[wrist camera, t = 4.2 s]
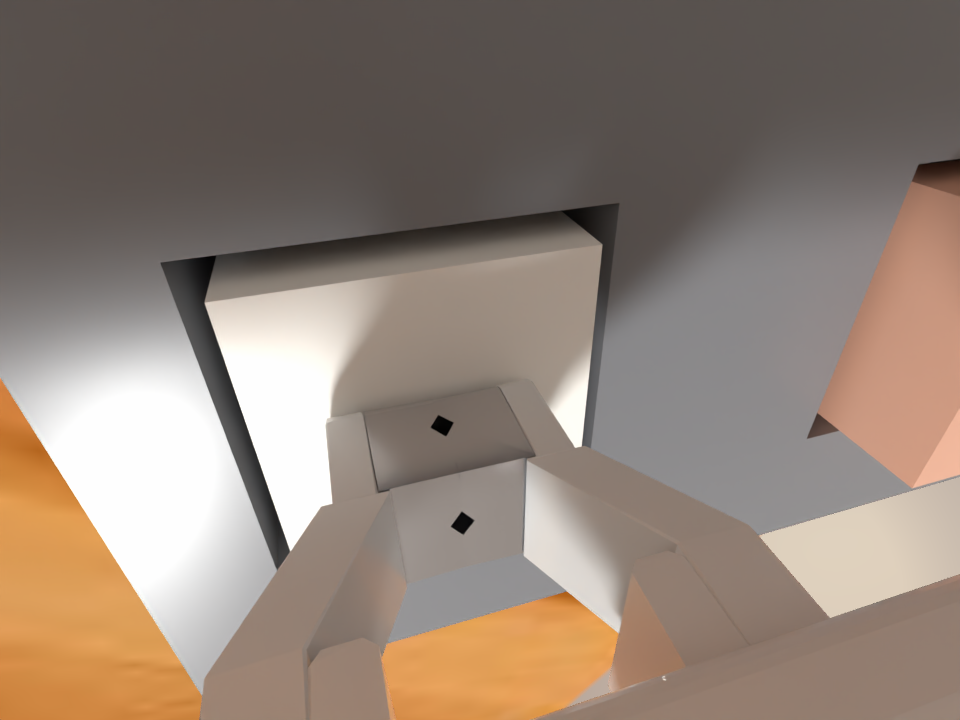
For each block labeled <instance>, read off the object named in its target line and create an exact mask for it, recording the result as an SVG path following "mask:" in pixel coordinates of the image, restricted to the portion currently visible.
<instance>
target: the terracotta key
mask: <svg viewBox="0 0 960 720" xmlns="http://www.w3.org/2000/svg"><path fill="white" fill-rule="evenodd" d="M817 413H818V414H819V415H821V416H822V417H823V418H824V419H826V420H827V421H828V422H829V423H831V424H832V425H833V426H834V427H836V428H837V429H838V430H839V431H841V432H842V433H843V434H844V435H846V436H847V437H848V438H849V439H851V440H852V441H853V442H854V443H856V444H857V445H858V446H859V447H861V448H862V449H863V450H864V451H866V452H867V453H868V454H869V455H871V456H872V457H873V458H875V459H876V460H877V461H878V462H880V463H881V464H882V465H883V466H885V467H886V468H887V469H888V470H890V471H891V472H892V473H893V474H895V475H896V476H897V477H898V478H900V479H901V480H902V481H903V482H905V483H906V484H907V485H908V486H910V487H911V488H916V487H919V486H923V485H926V484H929V483H933V482H936V481H940V480H943V479H947V478H950V477H954V476H957V475H960V160H953V161H945V162H938V163H930V164H922V165H918V167H917V170H916V172H915V175H914V177H913V179H912V182H911V184H910V187H909V189H908V192H907V194H906V197H905V199H904V201H903V204H902V206H901V209H900V211H899V214H898V216H897V219H896V221H895V223H894V226H893V228H892V231H891V233H890V236H889V238H888V241H887V243H886V246H885V248H884V250H883V253H882V255H881V258H880V260H879V263H878V265H877V268H876V270H875V272H874V275H873V277H872V280H871V282H870V285H869V287H868V290H867V292H866V295H865V297H864V299H863V302H862V304H861V307H860V309H859V312H858V314H857V317H856V319H855V321H854V324H853V326H852V329H851V331H850V334H849V336H848V339H847V341H846V344H845V346H844V348H843V351H842V353H841V356H840V358H839V361H838V363H837V366H836V368H835V370H834V373H833V375H832V378H831V380H830V383H829V385H828V388H827V390H826V393H825V395H824V397H823V400H822V402H821V405H820V407H819V410H818V412H817Z"/></svg>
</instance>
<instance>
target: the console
mask: <svg viewBox="0 0 960 720" xmlns="http://www.w3.org/2000/svg"><path fill="white" fill-rule="evenodd" d="M953 160H960V0H0V378H1V380H2V381H3V383H4V384H5V386H6V387H7V389H8V391H9V392H10V394H11V395H12V397H13V398H14V400H15V402H16V403H17V405H18V406H19V408H20V410H21V411H22V413H23V414H24V416H25V417H26V419H27V421H28V422H29V424H30V425H31V427H32V428H33V430H34V432H35V433H36V435H37V436H38V438H39V439H40V441H41V443H42V444H43V446H44V447H45V449H46V451H47V452H48V454H49V455H50V457H51V458H52V460H53V462H54V463H55V465H56V466H57V468H58V469H59V471H60V473H61V474H62V476H63V477H64V479H65V480H66V482H67V484H68V485H69V487H70V488H71V490H72V491H73V493H74V495H75V496H76V498H77V499H78V501H79V503H80V504H81V506H82V507H83V509H84V510H85V512H86V514H87V515H88V517H89V518H90V520H91V521H92V523H93V525H94V526H95V528H96V529H97V531H98V532H99V534H100V536H101V537H102V539H103V540H104V542H105V544H106V545H107V547H108V548H109V550H110V551H111V553H112V555H113V556H114V558H115V559H116V561H117V562H118V564H119V566H120V567H121V569H122V570H123V572H124V573H125V575H126V577H127V578H128V580H129V581H130V583H131V584H132V586H133V588H134V589H135V591H136V592H137V594H138V596H139V597H140V599H141V600H142V602H143V603H144V605H145V607H146V608H147V610H148V611H149V613H150V614H151V616H152V618H153V619H154V621H155V622H156V624H157V625H158V627H159V629H160V630H161V632H162V633H163V635H164V637H165V638H166V640H167V641H168V643H169V644H170V646H171V648H172V649H173V651H174V652H175V654H176V655H177V657H178V659H179V660H180V662H181V663H182V665H183V666H184V668H185V670H186V671H187V673H188V674H189V676H190V678H191V679H192V681H193V682H194V684H195V685H196V687H197V689H198V690H199V692H200V693H201V695H203V686H204V678H205V677H206V675H207V674H208V672H209V671H210V669H211V668H212V667H213V665H214V664H215V662H216V661H217V659H218V658H219V656H220V655H221V653H222V652H223V650H224V649H225V647H226V646H227V644H228V643H229V641H230V640H231V638H232V637H233V636H234V634H235V633H236V631H237V630H238V628H239V627H240V625H241V624H242V622H243V621H244V619H245V618H246V616H247V615H248V613H249V612H250V610H251V609H252V607H253V606H254V604H255V603H256V602H257V600H258V599H259V597H260V596H261V594H262V593H263V591H264V590H265V588H266V587H267V585H268V584H269V582H270V581H271V579H272V578H273V576H274V575H275V573H276V572H277V571H278V569H279V568H280V566H281V565H282V563H283V562H284V560H285V559H286V557H287V556H288V554H289V553H290V549H289V546H288V543H287V540H286V537H285V534H284V532H283V529H282V526H281V523H280V520H279V517H278V514H277V511H276V508H275V506H274V503H273V500H272V497H271V494H270V491H269V488H268V485H267V482H266V480H265V477H264V474H263V471H262V468H261V465H260V462H259V459H258V456H257V454H256V451H255V448H254V445H253V442H252V439H251V436H250V433H249V430H248V428H247V425H246V422H245V419H244V416H243V413H242V410H241V407H240V404H239V402H238V399H237V396H236V393H235V390H234V387H233V384H232V381H231V378H230V375H229V373H228V370H227V367H226V364H225V361H224V358H223V355H222V352H221V349H220V347H219V344H218V341H217V338H216V335H215V332H214V329H213V326H212V323H211V321H210V318H209V315H208V312H207V309H206V306H205V303H204V302H205V298H206V294H207V290H208V286H209V283H210V279H211V275H212V271H213V267H214V263H215V259H216V255H222V254H230V253H237V252H245V251H253V250H260V249H268V248H276V247H284V246H291V245H299V244H307V243H314V242H322V241H330V240H338V239H345V238H353V237H361V236H368V235H376V234H384V233H391V232H399V231H407V230H415V229H422V228H430V227H438V226H445V225H453V224H461V223H468V222H476V221H484V220H492V219H499V218H507V217H515V216H522V215H530V214H538V213H545V212H553V211H562V212H563V213H564V214H566V215H567V216H568V217H569V218H571V219H572V220H573V221H574V222H575V223H577V224H578V225H579V226H580V227H582V228H583V229H584V230H585V231H587V232H588V233H589V234H590V235H592V236H593V237H594V238H595V239H597V240H598V241H599V242H600V243H601V244H603V245H602V254H601V264H600V274H599V283H598V293H597V303H596V312H595V322H594V332H593V341H592V351H591V360H590V370H589V380H588V389H587V399H586V409H585V418H584V428H583V438H582V446H587V447H589V448H591V449H593V450H595V451H597V452H599V453H601V454H603V455H605V456H607V457H609V458H611V459H613V460H616V461H618V462H620V463H622V464H624V465H626V466H628V467H630V468H632V469H634V470H636V471H638V472H640V473H642V474H644V475H647V476H649V477H651V478H653V479H655V480H657V481H659V482H661V483H663V484H665V485H667V486H669V487H671V488H673V489H675V490H678V491H680V492H682V493H684V494H686V495H688V496H690V497H692V498H694V499H696V500H698V501H700V502H702V503H704V504H706V505H709V506H711V507H713V508H715V509H717V510H719V511H721V512H723V513H725V514H727V515H729V516H731V517H733V518H735V519H737V520H740V521H742V522H744V523H746V524H748V525H750V527H751V528H752V529H753V530H754V531H755V532H756V534H757V535H762V534H765V533H768V532H772V531H775V530H778V529H782V528H785V527H789V526H792V525H796V524H799V523H803V522H806V521H810V520H813V519H816V518H820V517H823V516H827V515H830V514H834V513H837V512H840V511H844V510H847V509H851V508H854V507H858V506H861V505H865V504H868V503H871V502H875V501H878V500H882V499H885V498H889V497H892V496H895V495H899V494H902V493H906V492H909V491H912V490H916V489H919V488H923V487H926V486H930V485H933V484H936V483H940V482H944V481H947V480H950V479H954V478H957V477H960V475H957V476H954V477H950V478H947V479H943V480H940V481H936V482H933V483H929V484H926V485H923V486H919V487H916V488H911V487H910V486H908V485H907V484H906V483H905V482H903V481H902V480H901V479H900V478H898V477H897V476H896V475H895V474H893V473H892V472H891V471H890V470H888V469H887V468H886V467H885V466H883V465H882V464H881V463H880V462H878V461H877V460H876V459H875V458H873V457H872V456H871V455H869V454H868V453H867V452H866V451H864V450H863V449H862V448H861V447H859V446H858V445H857V444H856V443H854V442H853V441H852V440H851V439H849V438H848V437H847V436H846V435H844V434H843V433H842V432H841V431H839V430H838V429H837V428H836V427H834V426H833V425H832V424H831V423H829V422H828V421H827V420H826V419H824V418H823V417H822V416H821V415H819V414H818V413H817V412H818V410H819V407H820V405H821V402H822V400H823V397H824V395H825V393H826V390H827V388H828V385H829V383H830V380H831V378H832V375H833V373H834V370H835V368H836V366H837V363H838V361H839V358H840V356H841V353H842V351H843V348H844V346H845V344H846V341H847V339H848V336H849V334H850V331H851V329H852V326H853V324H854V321H855V319H856V317H857V314H858V312H859V309H860V307H861V304H862V302H863V299H864V297H865V295H866V292H867V290H868V287H869V285H870V282H871V280H872V277H873V275H874V272H875V270H876V268H877V265H878V263H879V260H880V258H881V255H882V253H883V250H884V248H885V246H886V243H887V241H888V238H889V236H890V233H891V231H892V228H893V226H894V223H895V221H896V219H897V216H898V214H899V211H900V209H901V206H902V204H903V201H904V199H905V197H906V194H907V192H908V189H909V187H910V184H911V182H912V179H913V177H914V175H915V172H916V170H917V167H918V165H922V164H930V163H938V162H945V161H953ZM406 586H407V589H406V592H405V595H404V598H403V600H402V603H401V606H400V609H399V611H398V614H397V617H396V620H395V622H394V625H393V628H392V631H391V633H390V636H389V639H388V642H387V643H391V642H394V641H398V640H401V639H405V638H408V637H411V636H415V635H418V634H422V633H425V632H429V631H432V630H435V629H439V628H442V627H446V626H449V625H453V624H456V623H460V622H463V621H466V620H470V619H473V618H477V617H480V616H484V615H487V614H490V613H494V612H497V611H501V610H504V609H508V608H511V607H514V606H518V605H521V604H525V603H528V602H532V601H535V600H538V599H542V598H545V597H549V596H552V595H556V594H559V593H562V592H566V590H565V589H564V588H563V587H561V586H560V585H559V584H558V583H556V582H555V581H554V580H553V579H552V578H550V577H549V576H548V575H547V574H545V573H544V572H543V571H542V570H540V569H539V568H538V567H537V566H536V565H534V564H533V563H532V562H531V561H529V560H528V559H527V558H526V557H525V556H524V553H521V554H517V555H513V556H509V557H505V558H500V559H496V560H492V561H488V562H484V563H480V564H475V565H471V566H467V567H466V566H465V567H463V568H460V569H457V570H453V571H450V572H446V573H443V574H440V575H436V576H433V577H430V578H426V579H423V580H420V581H416V582H413V583H410V584H406Z"/></svg>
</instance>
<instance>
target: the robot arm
mask: <svg viewBox="0 0 960 720" xmlns="http://www.w3.org/2000/svg"><path fill="white" fill-rule="evenodd" d="M363 412H364V417H363V413H361V412H358V413H353V414H348V415H342V416H337V417H332V418H327V419H326V424H325V428H326V439H327V450H328V461H329V472H330V483H331V494H332V504H329V505H325V506H321V507H320V509H319V510H318V511H317V513H316V514H315V516H314V517H313V519H312V520H311V522H310V523H309V525H308V526H307V528H306V529H305V531H304V532H303V534H302V535H301V537H300V538H299V540H298V541H297V542H296V544H295V545H294V547H293V548H292V550H291V551H290V553H289V554H288V556H287V557H286V559H285V560H284V562H283V563H282V565H281V566H280V568H279V569H278V571H277V572H276V573H275V575H274V576H273V578H272V579H271V581H270V582H269V584H268V585H267V587H266V588H265V590H264V591H263V593H262V594H261V596H260V597H259V599H258V600H257V602H256V603H255V604H254V606H253V607H252V609H251V610H250V612H249V613H248V615H247V616H246V618H245V619H244V621H243V622H242V624H241V625H240V627H239V628H238V630H237V631H236V633H235V634H234V636H233V637H232V638H231V640H230V641H229V643H228V644H227V646H226V647H225V649H224V650H223V652H222V653H221V655H220V656H219V658H218V659H217V661H216V662H215V664H214V665H213V667H212V668H211V669H210V671H209V672H208V674H207V675H206V677H205V678H204V686H203V695H202V703H201V711H200V719H199V720H396V717H395V713H394V708H393V704H392V700H391V695H390V691H389V687H388V682H387V678H386V674H385V670H384V665H383V661H382V656H383V653H384V650H385V647H386V645H387V642H388V639H389V636H390V633H391V631H392V628H393V625H394V622H395V620H396V617H397V614H398V611H399V609H400V606H401V603H402V600H403V598H404V595H405V592H406V589H407V586H406V584H410V583H413V582H416V581H420V580H423V579H426V578H430V577H433V576H436V575H440V574H443V573H446V572H450V571H453V570H457V569H460V568H463V567H465V566H466V567H467V566H471V565H475V564H480V563H484V562H488V561H492V560H496V559H500V558H505V557H509V556H513V555H517V554H521V553H524V556H525V557H526V558H527V559H528V560H529V561H531V562H532V563H533V564H534V565H536V566H537V567H538V568H539V569H540V570H542V571H543V572H544V573H545V574H547V575H548V576H549V577H550V578H552V579H553V580H554V581H555V582H556V583H558V584H559V585H560V586H561V587H563V588H564V589H565V590H566V591H567V592H569V593H570V594H571V595H572V596H574V597H575V598H576V599H577V600H579V601H580V602H581V603H582V604H583V605H585V606H586V607H587V608H588V609H590V610H591V611H592V612H593V613H594V614H596V615H597V616H598V617H599V618H601V619H602V620H603V621H604V622H606V623H607V624H608V625H609V626H610V627H612V628H613V629H614V630H615V631H617V632H618V633H619V635H618V640H617V644H616V649H615V654H614V658H613V663H612V668H611V673H610V677H609V682H608V687H609V689H610V691H611V693H608V694H605V695H602V696H599V697H596V698H593V699H590V700H587V701H585V702H581V703H578V704H575V705H573V706H570V707H567V708H564V709H561V710H558V711H555V712H552V713H549V714H546V715H543V716H540V717H537V718H534V719H531V720H960V574H959V575H956V576H953V577H950V578H947V579H944V580H941V581H938V582H935V583H933V584H930V585H927V586H924V587H921V588H918V589H915V590H912V591H909V592H906V593H903V594H900V595H897V596H894V597H891V598H888V599H885V600H882V601H880V602H876V603H873V604H871V605H868V606H865V607H862V608H859V609H856V610H853V611H850V612H847V613H844V614H841V615H838V616H835V617H832V618H829V617H828V616H827V614H826V613H825V612H824V611H823V610H822V609H821V607H820V606H819V605H818V604H817V603H816V602H815V600H814V599H813V598H812V597H811V596H810V595H809V594H808V593H807V591H806V590H805V589H804V588H803V587H802V585H801V584H800V583H799V582H798V581H797V580H796V579H795V578H794V576H793V575H792V574H791V573H790V572H789V570H787V568H786V567H785V566H784V565H783V564H782V562H781V561H780V560H779V559H778V558H777V557H776V556H775V554H774V553H773V552H772V551H771V550H770V549H769V547H768V546H767V545H766V544H765V543H764V542H763V540H762V539H761V538H760V537H759V536H758V535H757V534H756V532H755V531H754V530H753V529H752V528H751V527H750V525H748V524H746V523H744V522H742V521H740V520H737V519H735V518H733V517H731V516H729V515H727V514H725V513H723V512H721V511H719V510H717V509H715V508H713V507H711V506H709V505H706V504H704V503H702V502H700V501H698V500H696V499H694V498H692V497H690V496H688V495H686V494H684V493H682V492H680V491H678V490H675V489H673V488H671V487H669V486H667V485H665V484H663V483H661V482H659V481H657V480H655V479H653V478H651V477H649V476H647V475H644V474H642V473H640V472H638V471H636V470H634V469H632V468H630V467H628V466H626V465H624V464H622V463H620V462H618V461H616V460H613V459H611V458H609V457H607V456H605V455H603V454H601V453H599V452H597V451H595V450H593V449H591V448H589V447H587V446H581V447H577V448H575V447H574V445H573V443H572V442H571V440H570V439H569V437H568V436H567V434H566V433H565V431H564V429H563V428H562V426H561V425H560V423H559V422H558V420H557V419H556V417H555V416H554V414H553V412H552V411H551V409H550V408H549V406H548V405H547V403H546V402H545V400H544V399H543V397H542V395H541V394H540V392H539V391H538V389H537V388H536V386H535V385H534V383H533V382H532V381H531V380H529V379H524V380H519V381H515V382H510V383H506V384H501V385H497V386H496V387H492V388H487V389H482V390H478V391H473V392H468V393H463V394H458V395H453V396H448V397H443V398H438V399H433V400H432V399H431V400H425V401H419V402H414V403H408V404H402V405H397V406H391V407H385V408H379V409H374V410H368V411H363ZM364 418H365V422H364ZM365 424H366V427H365ZM366 430H367V432H366ZM367 435H368V437H367ZM368 441H369V442H368ZM369 446H370V448H369ZM370 452H371V453H370ZM371 457H372V458H371Z"/></svg>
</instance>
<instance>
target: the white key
mask: <svg viewBox="0 0 960 720" xmlns="http://www.w3.org/2000/svg"><path fill="white" fill-rule="evenodd" d="M602 245H603V244H601V243H600V242H599V241H598V240H597V239H595V238H594V237H593V236H592V235H590V234H589V233H588V232H587V231H585V230H584V229H583V228H582V227H580V226H579V225H578V224H577V223H575V222H574V221H573V220H572V219H571V218H569V217H568V216H567V215H566V214H564V213H563V212H562V211H553V212H545V213H538V214H530V215H522V216H515V217H507V218H499V219H492V220H484V221H476V222H468V223H461V224H453V225H445V226H438V227H430V228H422V229H415V230H407V231H399V232H391V233H384V234H376V235H368V236H361V237H353V238H345V239H338V240H330V241H322V242H314V243H307V244H299V245H291V246H284V247H276V248H268V249H260V250H253V251H245V252H237V253H230V254H222V255H216V259H215V263H214V267H213V271H212V275H211V279H210V283H209V286H208V290H207V294H206V298H205V302H204V303H205V306H206V309H207V312H208V315H209V318H210V321H211V323H212V326H213V329H214V332H215V335H216V338H217V341H218V344H219V347H220V349H221V352H222V355H223V358H224V361H225V364H226V367H227V370H228V373H229V375H230V378H231V381H232V384H233V387H234V390H235V393H236V396H237V399H238V402H239V404H240V407H241V410H242V413H243V416H244V419H245V422H246V425H247V428H248V430H249V433H250V436H251V439H252V442H253V445H254V448H255V451H256V454H257V456H258V459H259V462H260V465H261V468H262V471H263V474H264V477H265V480H266V482H267V485H268V488H269V491H270V494H271V497H272V500H273V503H274V506H275V508H276V511H277V514H278V517H279V520H280V523H281V526H282V529H283V532H284V534H285V537H286V540H287V543H288V546H289V549H290V551H291V550H292V548H293V547H294V545H295V544H296V542H297V541H298V540H299V538H300V537H301V535H302V534H303V532H304V531H305V529H306V528H307V526H308V525H309V523H310V522H311V520H312V519H313V517H314V516H315V514H316V513H317V511H318V510H319V509H320V507H321V506H325V505H329V504H332V494H331V483H330V472H329V461H328V450H327V439H326V428H325V424H326V419H327V418H332V417H337V416H342V415H348V414H353V413H358V412H361V413H363V417H364V412H363V411H368V410H374V409H379V408H385V407H391V406H397V405H402V404H408V403H414V402H419V401H425V400H431V399H432V400H433V399H438V398H443V397H448V396H453V395H458V394H463V393H468V392H473V391H478V390H482V389H487V388H492V387H496V386H497V385H501V384H506V383H510V382H515V381H519V380H524V379H529V380H531V381H532V382H533V383H534V385H535V386H536V388H537V389H538V391H539V392H540V394H541V395H542V397H543V399H544V400H545V402H546V403H547V405H548V406H549V408H550V409H551V411H552V412H553V414H554V416H555V417H556V419H557V420H558V422H559V423H560V425H561V426H562V428H563V429H564V431H565V433H566V434H567V436H568V437H569V439H570V440H571V442H572V443H573V445H574V447H575V448H577V447H581V446H582V438H583V428H584V418H585V409H586V399H587V389H588V380H589V370H590V360H591V351H592V341H593V332H594V322H595V312H596V303H597V293H598V283H599V274H600V264H601V254H602ZM364 422H365V418H364ZM365 427H366V424H365ZM366 432H367V430H366ZM367 437H368V435H367ZM368 442H369V441H368ZM369 448H370V446H369ZM370 453H371V452H370ZM371 458H372V457H371Z"/></svg>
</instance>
